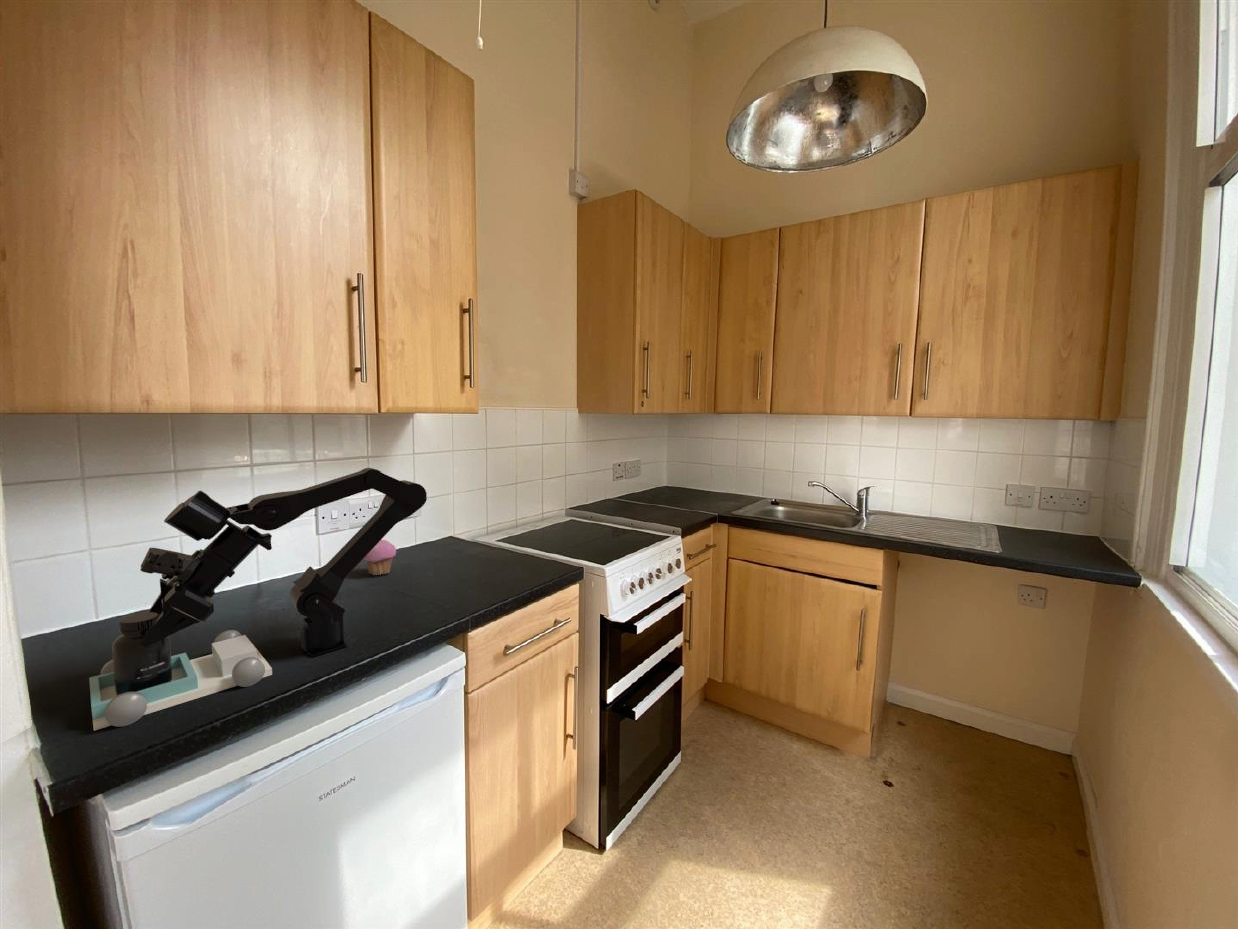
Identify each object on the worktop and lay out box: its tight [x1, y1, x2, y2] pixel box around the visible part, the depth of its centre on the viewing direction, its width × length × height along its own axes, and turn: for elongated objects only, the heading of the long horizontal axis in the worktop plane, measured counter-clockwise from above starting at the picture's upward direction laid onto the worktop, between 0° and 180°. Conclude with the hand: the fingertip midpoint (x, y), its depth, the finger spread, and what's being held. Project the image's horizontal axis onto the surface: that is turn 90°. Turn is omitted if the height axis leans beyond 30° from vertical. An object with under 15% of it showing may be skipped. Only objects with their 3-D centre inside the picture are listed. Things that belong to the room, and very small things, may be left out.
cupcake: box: [363, 539, 397, 576], centre depth 145 cm, size 9×9×10 cm
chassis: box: [88, 629, 273, 731], centre depth 86 cm, size 22×17×4 cm
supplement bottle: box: [111, 612, 172, 696], centre depth 82 cm, size 7×7×12 cm
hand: (142, 635), depth 82 cm, fingers open, 9 cm apart
